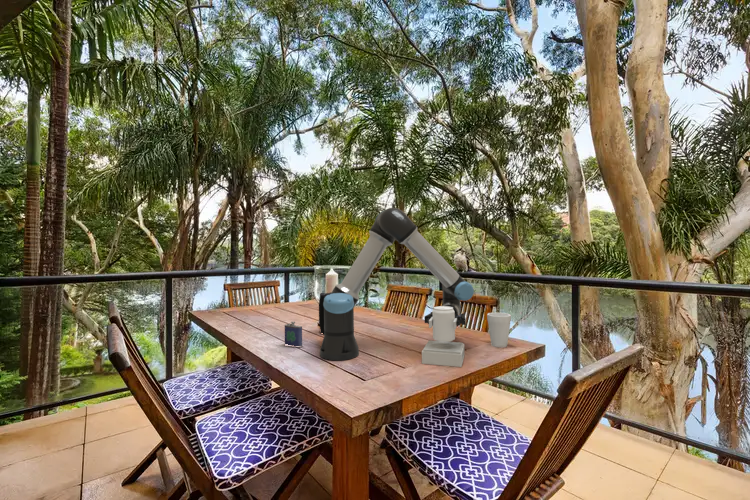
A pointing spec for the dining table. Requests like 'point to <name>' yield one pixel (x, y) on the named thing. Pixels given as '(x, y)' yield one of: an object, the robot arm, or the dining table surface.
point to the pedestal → (443, 353)
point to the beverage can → (443, 323)
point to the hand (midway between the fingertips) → (442, 324)
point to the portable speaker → (322, 311)
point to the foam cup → (499, 328)
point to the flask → (293, 334)
